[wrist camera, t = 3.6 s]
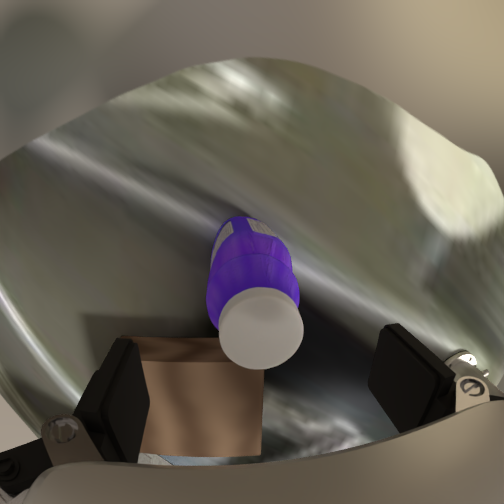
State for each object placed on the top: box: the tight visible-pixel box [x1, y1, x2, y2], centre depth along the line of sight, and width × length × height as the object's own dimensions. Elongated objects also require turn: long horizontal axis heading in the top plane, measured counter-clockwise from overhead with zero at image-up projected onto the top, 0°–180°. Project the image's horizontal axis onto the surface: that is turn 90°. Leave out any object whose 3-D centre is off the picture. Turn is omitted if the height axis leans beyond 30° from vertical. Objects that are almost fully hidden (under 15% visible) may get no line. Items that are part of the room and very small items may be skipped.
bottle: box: [206, 216, 304, 369], centre depth 22 cm, size 7×6×17 cm
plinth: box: [121, 336, 264, 457], centre depth 31 cm, size 16×16×5 cm
